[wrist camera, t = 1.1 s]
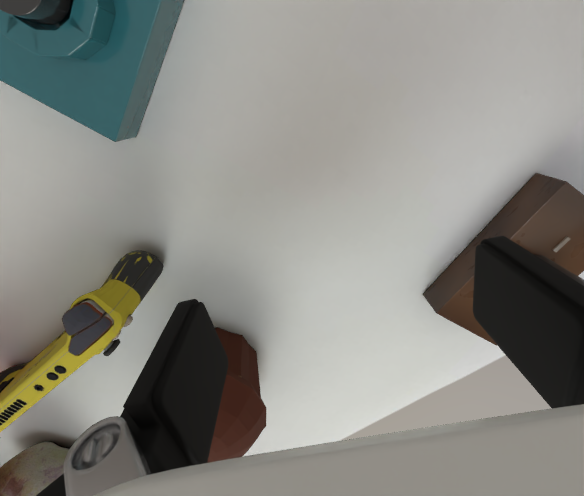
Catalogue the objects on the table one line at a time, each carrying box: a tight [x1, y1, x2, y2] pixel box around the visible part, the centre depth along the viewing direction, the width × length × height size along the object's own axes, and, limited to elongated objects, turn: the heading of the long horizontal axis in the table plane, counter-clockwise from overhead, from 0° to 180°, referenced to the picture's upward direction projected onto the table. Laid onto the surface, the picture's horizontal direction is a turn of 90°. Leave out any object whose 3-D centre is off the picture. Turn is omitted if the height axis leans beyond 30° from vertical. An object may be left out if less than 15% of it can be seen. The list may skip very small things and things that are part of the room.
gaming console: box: [0, 251, 163, 432], centre depth 26 cm, size 26×4×10 cm, turn 130°
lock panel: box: [423, 173, 584, 345], centre depth 27 cm, size 14×8×3 cm, turn 149°
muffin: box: [207, 327, 266, 463], centre depth 29 cm, size 12×11×10 cm
